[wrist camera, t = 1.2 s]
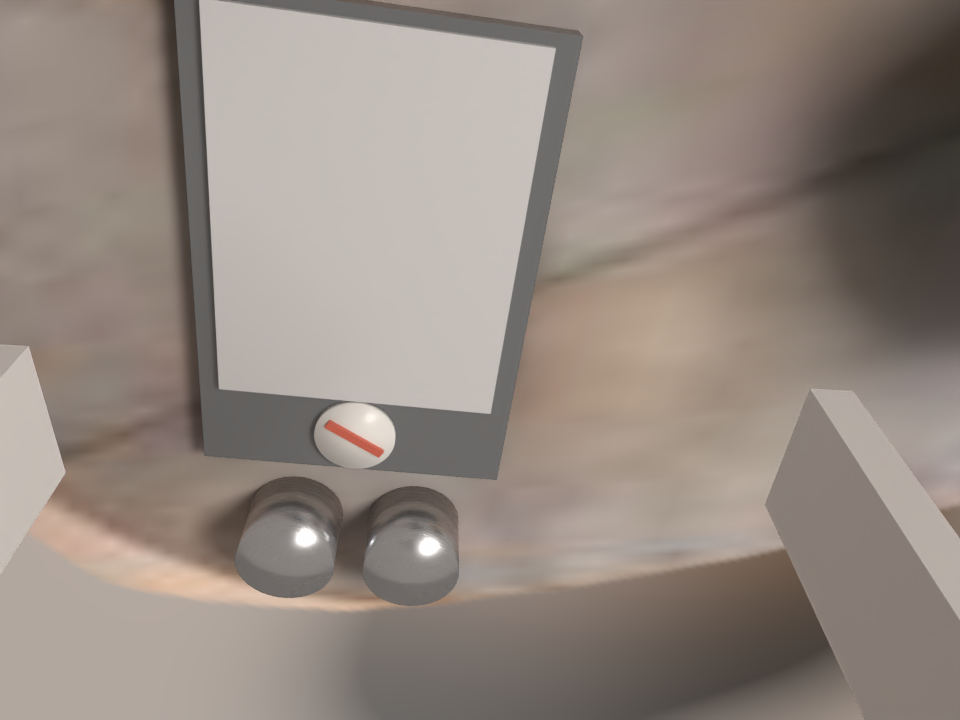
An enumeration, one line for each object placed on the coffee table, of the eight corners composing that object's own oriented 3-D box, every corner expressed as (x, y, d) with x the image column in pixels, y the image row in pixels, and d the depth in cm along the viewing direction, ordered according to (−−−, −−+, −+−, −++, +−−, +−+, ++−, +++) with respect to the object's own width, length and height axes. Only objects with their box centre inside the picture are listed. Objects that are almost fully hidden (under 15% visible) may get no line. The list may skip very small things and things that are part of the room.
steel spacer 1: (250, 472, 41) (233, 525, 38) (344, 479, 42) (335, 533, 38) (252, 539, 44) (236, 594, 40) (340, 545, 44) (332, 600, 41)
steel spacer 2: (372, 482, 42) (365, 535, 38) (463, 489, 42) (464, 542, 39) (366, 547, 44) (360, 602, 41) (452, 553, 45) (452, 608, 42)
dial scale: (182, -27, 28) (167, -21, 27) (578, 30, 30) (585, 38, 28) (210, 440, 40) (201, 463, 38) (495, 465, 41) (497, 487, 40)
